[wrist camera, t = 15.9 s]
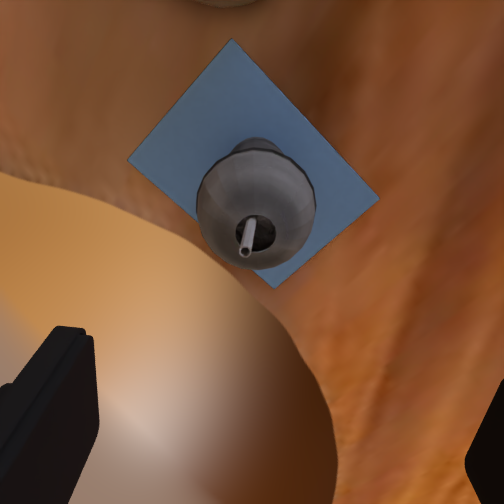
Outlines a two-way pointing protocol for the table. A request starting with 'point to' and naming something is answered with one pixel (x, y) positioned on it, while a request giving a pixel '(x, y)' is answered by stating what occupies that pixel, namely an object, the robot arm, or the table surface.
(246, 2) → the bucket
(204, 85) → the desk mat
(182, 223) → the table surface
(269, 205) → the beverage cup
